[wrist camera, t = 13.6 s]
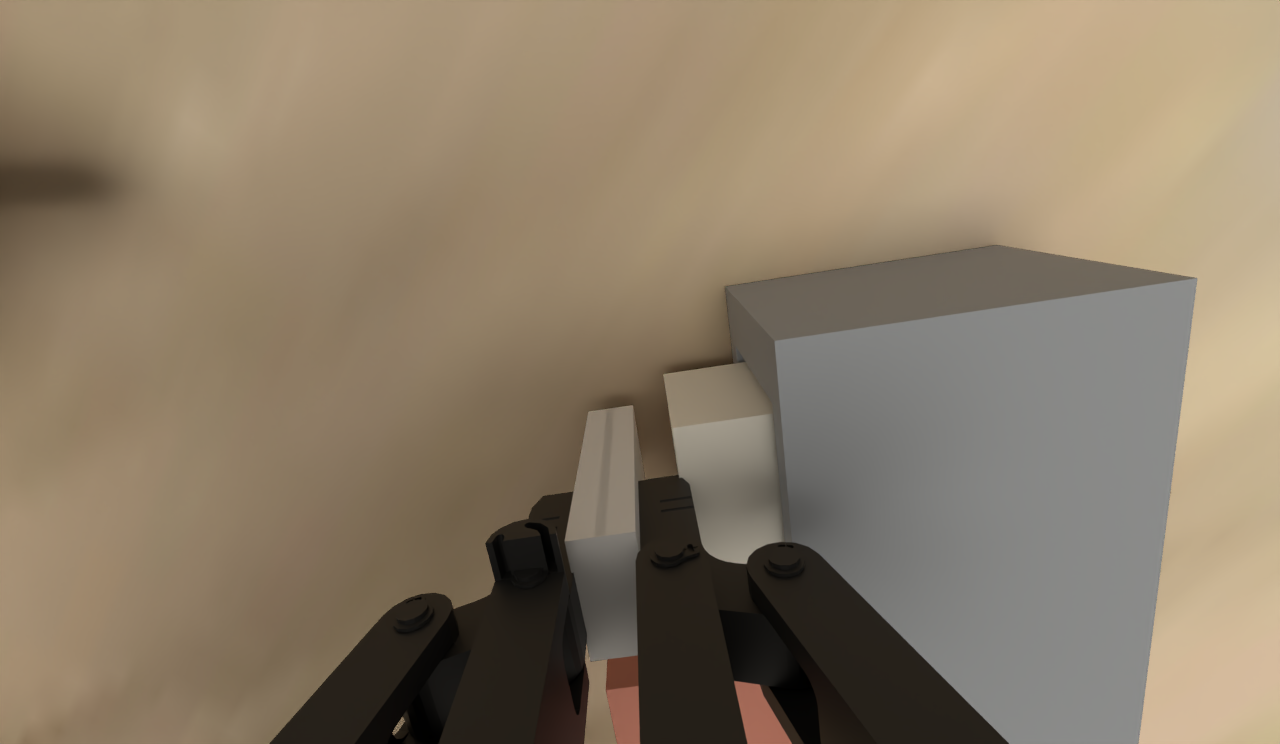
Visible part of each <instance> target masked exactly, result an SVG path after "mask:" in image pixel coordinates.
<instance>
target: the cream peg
mask: <svg viewBox="0 0 1280 744" xmlns="http://www.w3.org/2000/svg"><path fill="white" fill-rule="evenodd" d="M663 376H664V383H665V390H666V397H667V403H668V410H669V417H670V424H671V431H672V437H673V444H674V451H675V458H676V465H677V472H678V475H679V478H683V479H684V480H685V481H687V482H688V483H689V484H690V488H691V493H692V498H693V503H694V508H695V513H696V518H697V523H698V528H699V533H700V538H701V542H702V545H703V547H704V549H705V550H706V551H707V552H708V553H709V554H710V555H712V556H713V557H715V558H717V559H720V560H723V561H726V562H732V563H740V564H747V561H748V557H749V556H750V555H751V554H752V553H753V552H754V551H755V550H756V549H758V548H760V547H762V546H764V545H767V544H771V543H777V542H785V538H784V527H783V516H782V505H781V494H780V483H779V472H778V461H777V450H776V439H775V428H774V417H773V406H772V402H771V401H770V399H769V398H768V396H767V394H766V393H765V391H764V390H763V388H762V387H761V385H760V383H759V382H758V380H757V379H756V377H755V376H754V374H753V373H752V371H751V369H750V368H749V366H748V365H747V363H746V362H742V363H735V364H728V365H722V366H715V367H708V368H701V369H695V370H688V371H681V372H674V373H668V374H663Z"/></svg>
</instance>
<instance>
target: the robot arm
mask: <svg viewBox="0 0 1280 744" xmlns="http://www.w3.org/2000/svg"><path fill="white" fill-rule="evenodd" d="M485 544H486V547H487V551H488V555H489V559H490V563H491V566H492V570H493V574H494V578H495V583H494V586H493V589H492V592H491V594H490V595H488V596H487V597H485V598H482V599H480V600H478V601H475V602H473V603H470V604H467V605H464V606H461V607H458V608H456V609H453V606H452V602H451V600H450V599H449V598H448V597H446V596H445V595H442V594H437V593H429V594H421V595H417V596H415V597H411V598H408V599H406V600H404V601H403V602H401V603H399V604H397V605H396V606H394V607H393V608H391V609H390V610H389V611H388V612H387V613H386V614H385V615H383V616H382V617H381V619H380V620H379V621H378V622H377V623H376V624H375V625H374V626H373V628H372V629H371V630H370V631H369V632H368V633H367V634H366V635H365V637H364V638H363V639H362V640H361V641H360V642H359V643H358V644H357V646H356V647H355V648H354V649H353V650H352V651H351V652H350V653H349V655H348V656H347V657H346V658H345V659H344V660H343V661H342V662H341V664H340V665H339V666H338V667H337V668H336V669H335V670H334V671H333V673H332V674H331V675H330V676H329V677H328V678H327V679H326V680H325V682H324V683H323V684H322V685H321V686H320V687H319V688H318V689H317V691H316V692H315V693H314V694H313V695H312V696H311V697H310V699H309V700H308V701H307V702H306V703H305V704H304V705H303V706H302V708H301V709H300V710H299V711H298V712H297V713H296V714H295V715H294V717H293V718H292V719H291V720H290V721H289V722H288V723H287V724H286V726H285V727H284V728H283V729H282V730H281V731H280V732H279V733H278V735H277V736H276V737H275V738H274V739H273V740H272V741H271V742H270V744H584V736H585V725H586V713H587V702H588V691H589V679H588V673H587V668H586V664H585V651H586V643H587V647H588V652H589V657H590V661H599V660H606V659H613V658H622V657H630V656H637V655H638V685H639V726H640V744H748V743H747V739H746V734H745V729H744V725H743V720H742V716H741V711H740V706H739V702H738V697H737V693H736V688H735V683H734V681H738V682H745V683H751V684H758V685H760V687H761V690H762V693H763V696H764V697H765V699H766V701H767V702H768V704H769V706H770V707H771V709H772V711H773V713H774V714H775V716H776V718H777V719H778V721H779V723H780V724H781V726H782V728H783V729H784V731H785V733H786V734H787V736H788V738H789V739H790V741H791V743H792V744H1009V743H1008V742H1007V741H1006V740H1005V739H1004V738H1003V737H1002V736H1001V735H1000V734H999V733H998V732H997V731H996V730H995V729H994V728H993V727H992V726H991V725H990V724H989V723H988V722H987V721H986V720H985V719H984V718H983V717H982V716H981V715H980V714H979V713H978V712H977V711H976V710H975V709H974V708H973V707H972V706H971V705H970V704H969V703H968V702H967V701H966V700H965V699H964V698H963V697H962V696H961V695H960V694H959V693H958V692H957V691H956V690H955V689H954V688H953V687H952V686H951V685H950V684H949V683H948V682H947V681H946V680H945V679H944V678H943V677H942V676H941V675H940V674H939V673H938V672H937V671H936V670H935V669H934V668H933V667H932V666H931V665H930V664H929V663H928V662H927V661H926V660H925V659H924V658H923V657H922V656H921V655H920V654H919V653H918V652H917V651H916V650H915V649H914V648H913V647H912V646H911V645H910V644H909V643H908V642H907V641H906V640H905V639H904V638H903V637H902V636H901V635H900V634H899V633H898V632H897V631H896V630H895V629H894V628H893V627H892V626H891V625H890V624H889V623H888V622H887V621H886V620H885V619H884V618H883V617H882V616H881V615H880V614H879V613H878V612H877V611H876V610H875V609H874V608H873V607H872V606H871V605H870V604H869V603H868V602H867V601H866V600H865V599H864V598H863V597H862V596H861V595H860V594H859V593H858V592H857V591H856V590H855V589H854V588H853V587H852V586H851V585H850V584H849V583H848V582H847V581H846V580H845V579H844V578H843V577H842V576H841V575H840V574H839V573H838V572H837V571H836V570H835V569H834V568H833V567H832V566H831V565H830V564H829V563H828V562H827V561H826V560H825V559H824V558H823V557H822V556H821V555H820V554H819V553H817V552H816V551H814V550H813V549H811V548H810V547H808V546H805V545H801V544H798V543H793V542H777V543H771V544H767V545H764V546H762V547H760V548H758V549H756V550H755V551H754V552H753V553H752V554H751V555H750V556H749V557H748V561H747V564H740V563H732V562H726V561H723V560H720V559H717V558H715V557H713V556H712V555H710V554H709V553H708V552H707V551H706V550H705V549H704V547H703V545H702V542H701V538H700V533H699V528H698V523H697V518H696V513H695V508H694V503H693V498H692V493H691V488H690V484H689V483H688V482H687V481H685V480H684V479H683V478H679V475H676V476H669V477H662V478H655V479H648V480H645V475H644V468H643V462H642V456H641V450H640V444H639V438H638V432H637V426H636V420H635V414H634V408H633V405H630V406H623V407H617V408H609V409H603V410H596V411H589V412H588V416H587V422H586V427H585V433H584V438H583V444H582V449H581V454H580V460H579V465H578V471H577V476H576V482H575V487H574V492H568V493H561V494H554V495H547V496H543V497H542V498H541V499H540V500H539V501H538V502H537V503H536V504H535V505H534V506H533V507H532V509H531V512H530V515H529V519H526V520H521V521H517V522H513V523H511V524H509V525H507V526H504V527H502V528H500V529H499V530H498V531H496V532H495V533H494V534H492V535H491V536H490V538H489V539H488V540H487V542H486V543H485ZM402 716H403V717H404V720H405V722H404V724H403V725H402V727H401V728H400V730H399V731H398V732H397V733H396V734H395V735H393V734H392V732H393V730H394V728H395V726H396V725H397V723H398V722H399V720H400V719H401V718H402Z"/></svg>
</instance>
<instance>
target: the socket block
mask: <svg viewBox="0 0 1280 744" xmlns="http://www.w3.org/2000/svg"><path fill="white" fill-rule="evenodd" d="M1196 285H1197V278H1193V277H1187V276H1181V275H1175V274H1169V273H1163V272H1157V271H1151V270H1145V269H1139V268H1133V267H1127V266H1121V265H1115V264H1109V263H1103V262H1097V261H1091V260H1085V259H1078V258H1072V257H1066V256H1060V255H1054V254H1048V253H1042V252H1036V251H1030V250H1024V249H1018V248H1012V247H1006V246H1000V245H995V246H988V247H981V248H975V249H968V250H962V251H955V252H949V253H942V254H935V255H929V256H922V257H916V258H909V259H903V260H896V261H889V262H883V263H876V264H870V265H863V266H857V267H850V268H843V269H837V270H830V271H824V272H817V273H811V274H804V275H797V276H791V277H784V278H778V279H771V280H764V281H758V282H751V283H745V284H738V285H732V286H725V291H726V300H727V309H728V318H729V328H730V337H731V346H732V355H733V364H735V363H742V362H746V363H747V365H748V366H749V368H750V369H751V371H752V373H753V374H754V376H755V377H756V379H757V380H758V382H759V383H760V385H761V387H762V388H763V390H764V391H765V393H766V394H767V396H768V398H769V399H770V401H771V402H772V406H773V417H774V428H775V439H776V450H777V461H778V472H779V483H780V494H781V505H782V516H783V527H784V538H785V542H793V543H798V544H801V545H805V546H808V547H810V548H811V549H813V550H814V551H816V552H817V553H819V554H820V555H821V556H822V557H823V558H824V559H825V560H826V561H827V562H828V563H829V564H830V565H831V566H832V567H833V568H834V569H835V570H836V571H837V572H838V573H839V574H840V575H841V576H842V577H843V578H844V579H845V580H846V581H847V582H848V583H849V584H850V585H851V586H852V587H853V588H854V589H855V590H856V591H857V592H858V593H859V594H860V595H861V596H862V597H863V598H864V599H865V600H866V601H867V602H868V603H869V604H870V605H871V606H872V607H873V608H874V609H875V610H876V611H877V612H878V613H879V614H880V615H881V616H882V617H883V618H884V619H885V620H886V621H887V622H888V623H889V624H890V625H891V626H892V627H893V628H894V629H895V630H896V631H897V632H898V633H899V634H900V635H901V636H902V637H903V638H904V639H905V640H906V641H907V642H908V643H909V644H910V645H911V646H912V647H913V648H914V649H915V650H916V651H917V652H918V653H919V654H920V655H921V656H922V657H923V658H924V659H925V660H926V661H927V662H928V663H929V664H930V665H931V666H932V667H933V668H934V669H935V670H936V671H937V672H938V673H939V674H940V675H941V676H942V677H943V678H944V679H945V680H946V681H947V682H948V683H949V684H950V685H951V686H952V687H953V688H954V689H955V690H956V691H957V692H958V693H959V694H960V695H961V696H962V697H963V698H964V699H965V700H966V701H967V702H968V703H969V704H970V705H971V706H972V707H973V708H974V709H975V710H976V711H977V712H978V713H979V714H980V715H981V716H982V717H983V718H984V719H985V720H986V721H987V722H988V723H989V724H990V725H991V726H992V727H993V728H994V729H995V730H996V731H997V732H998V733H999V734H1000V735H1001V736H1002V737H1003V738H1004V739H1005V740H1006V741H1007V742H1008V743H1009V744H1138V743H1139V735H1140V727H1141V719H1142V711H1143V704H1144V696H1145V688H1146V680H1147V672H1148V664H1149V656H1150V648H1151V640H1152V632H1153V625H1154V617H1155V609H1156V601H1157V593H1158V585H1159V577H1160V569H1161V561H1162V553H1163V546H1164V538H1165V530H1166V522H1167V514H1168V506H1169V498H1170V490H1171V482H1172V474H1173V466H1174V459H1175V451H1176V443H1177V435H1178V427H1179V419H1180V411H1181V403H1182V395H1183V387H1184V380H1185V372H1186V364H1187V356H1188V348H1189V340H1190V332H1191V324H1192V316H1193V308H1194V300H1195V293H1196Z"/></svg>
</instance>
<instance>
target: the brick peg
mask: <svg viewBox="0 0 1280 744" xmlns="http://www.w3.org/2000/svg"><path fill="white" fill-rule="evenodd" d="M734 683H735V688H736V693H737V697H738V702H739V706H740V711H741V716H742V720H743V725H744V729H745V734H746V739H747V743H748V744H792V743H791V741H790V739H789V738H788V736H787V734H786V733H785V731H784V729H783V728H782V726H781V724H780V723H779V721H778V719H777V718H776V716H775V714H774V713H773V711H772V709H771V707H770V706H769V704H768V702H767V701H766V699H765V697H764V696H763V693H762V690H761V687H760V685H758V684H751V683H745V682H738V681H734ZM606 693H607V698H608V702H609V707H610V712H611V717H612V721H613V726H614V731H615V736H616V740H617V744H640V726H639V685H638V655H637V656H630V657H622V658H613V659H608V660H607V679H606Z"/></svg>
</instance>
